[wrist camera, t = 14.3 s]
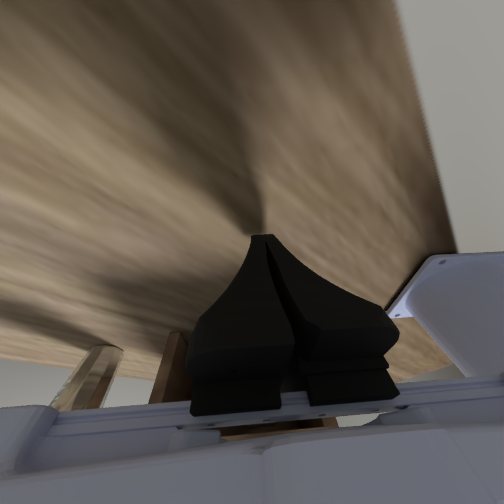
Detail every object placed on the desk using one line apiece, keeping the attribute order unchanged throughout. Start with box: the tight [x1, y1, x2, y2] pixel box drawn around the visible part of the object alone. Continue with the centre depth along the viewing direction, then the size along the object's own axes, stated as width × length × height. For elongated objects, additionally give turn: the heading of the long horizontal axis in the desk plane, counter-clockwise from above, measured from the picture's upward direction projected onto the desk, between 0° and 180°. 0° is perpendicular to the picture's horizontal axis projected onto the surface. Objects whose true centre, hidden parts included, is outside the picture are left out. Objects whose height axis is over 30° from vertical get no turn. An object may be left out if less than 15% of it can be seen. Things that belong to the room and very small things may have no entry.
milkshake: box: [49, 345, 124, 412], centre depth 16 cm, size 4×5×10 cm
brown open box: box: [148, 332, 339, 442], centre depth 18 cm, size 14×11×9 cm
